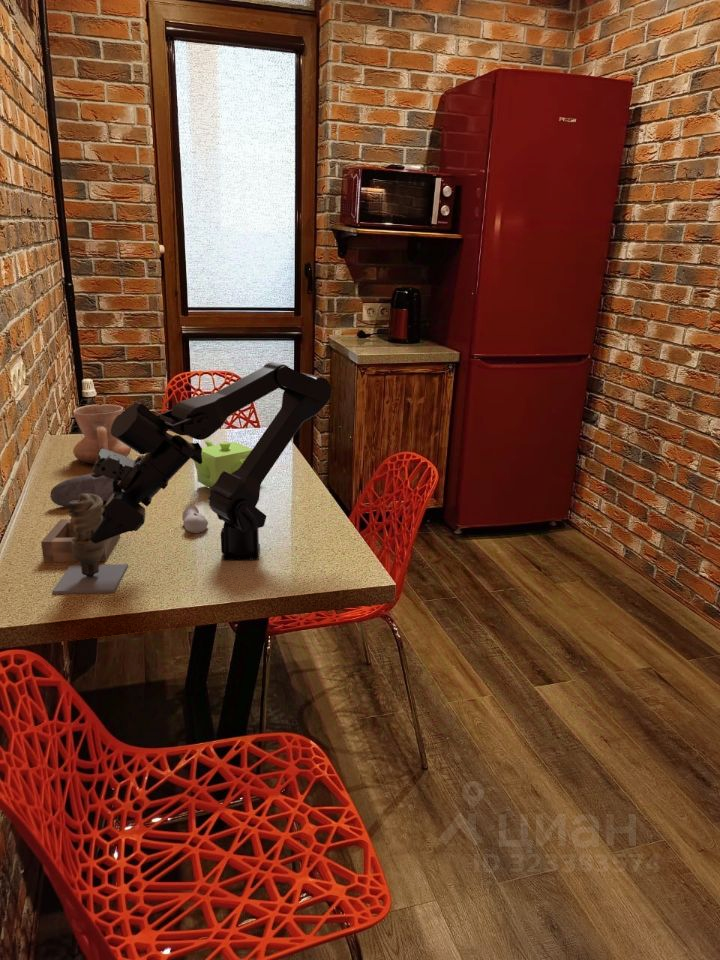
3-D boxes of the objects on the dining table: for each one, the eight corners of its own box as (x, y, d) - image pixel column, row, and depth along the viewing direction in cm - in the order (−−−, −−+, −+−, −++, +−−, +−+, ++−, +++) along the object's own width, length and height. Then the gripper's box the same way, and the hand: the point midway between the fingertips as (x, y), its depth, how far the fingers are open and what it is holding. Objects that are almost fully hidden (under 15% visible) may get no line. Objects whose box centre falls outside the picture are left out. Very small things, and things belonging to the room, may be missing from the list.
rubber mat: (128, 566, 125) (127, 564, 125) (114, 592, 116) (114, 589, 116) (70, 567, 124) (70, 564, 124) (52, 593, 115) (52, 591, 115)
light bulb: (98, 566, 124) (90, 487, 119) (116, 575, 121) (108, 494, 116) (69, 576, 120) (59, 495, 115) (86, 586, 116) (77, 502, 112)
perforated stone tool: (52, 512, 150) (48, 482, 147) (51, 504, 154) (47, 475, 152) (124, 503, 156) (122, 474, 154) (121, 496, 160) (118, 467, 158)
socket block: (120, 537, 138) (118, 518, 136) (106, 561, 127) (103, 541, 126) (62, 538, 137) (60, 519, 135) (43, 562, 126) (41, 541, 125)
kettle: (187, 496, 161) (184, 449, 158) (202, 477, 175) (200, 434, 171) (251, 498, 161) (250, 451, 157) (261, 479, 174) (260, 436, 171)
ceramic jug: (75, 453, 191) (70, 403, 187) (130, 450, 196) (126, 400, 191) (73, 473, 175) (66, 418, 171) (133, 468, 180) (128, 415, 175)
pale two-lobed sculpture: (206, 540, 141) (181, 535, 139) (203, 524, 148) (179, 520, 146) (212, 520, 140) (187, 515, 138) (208, 506, 147) (184, 501, 145)
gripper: (125, 420, 122) (65, 483, 123) (114, 449, 105) (45, 522, 106) (174, 461, 126) (116, 521, 127) (171, 495, 109) (104, 565, 110)
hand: (96, 530), depth 118 cm, fingers open, 9 cm apart
